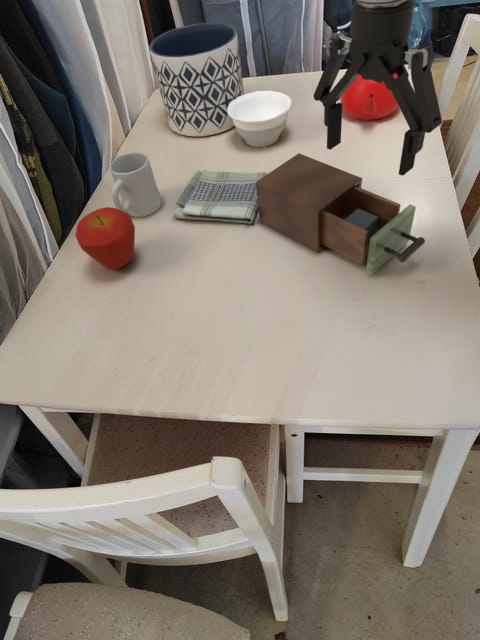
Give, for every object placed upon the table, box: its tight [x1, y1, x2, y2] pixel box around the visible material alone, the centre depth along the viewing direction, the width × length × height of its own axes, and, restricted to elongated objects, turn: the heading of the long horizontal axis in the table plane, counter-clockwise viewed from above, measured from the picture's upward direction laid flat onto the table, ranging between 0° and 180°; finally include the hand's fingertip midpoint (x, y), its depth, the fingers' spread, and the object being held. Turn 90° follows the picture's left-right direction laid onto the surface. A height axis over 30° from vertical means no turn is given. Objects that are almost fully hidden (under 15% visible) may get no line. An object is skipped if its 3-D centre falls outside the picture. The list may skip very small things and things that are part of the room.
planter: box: [148, 22, 245, 137], centre depth 118 cm, size 22×22×20 cm
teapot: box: [339, 74, 399, 121], centre depth 112 cm, size 25×16×12 cm, turn 167°
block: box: [345, 209, 378, 244], centre depth 81 cm, size 4×4×4 cm
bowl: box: [227, 90, 293, 148], centre depth 112 cm, size 16×16×9 cm
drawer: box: [320, 186, 426, 276], centre depth 80 cm, size 19×11×8 cm, turn 44°
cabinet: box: [256, 153, 363, 253], centre depth 87 cm, size 16×13×10 cm
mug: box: [109, 152, 163, 218], centre depth 97 cm, size 12×8×11 cm
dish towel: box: [173, 169, 268, 225], centre depth 99 cm, size 19×18×3 cm
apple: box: [75, 206, 136, 270], centre depth 86 cm, size 11×11×12 cm
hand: (367, 157), depth 70 cm, fingers open, 13 cm apart
